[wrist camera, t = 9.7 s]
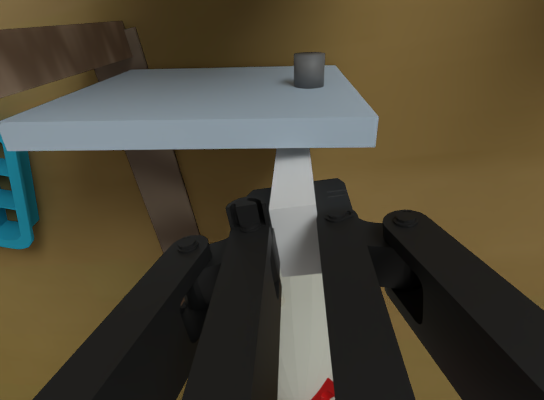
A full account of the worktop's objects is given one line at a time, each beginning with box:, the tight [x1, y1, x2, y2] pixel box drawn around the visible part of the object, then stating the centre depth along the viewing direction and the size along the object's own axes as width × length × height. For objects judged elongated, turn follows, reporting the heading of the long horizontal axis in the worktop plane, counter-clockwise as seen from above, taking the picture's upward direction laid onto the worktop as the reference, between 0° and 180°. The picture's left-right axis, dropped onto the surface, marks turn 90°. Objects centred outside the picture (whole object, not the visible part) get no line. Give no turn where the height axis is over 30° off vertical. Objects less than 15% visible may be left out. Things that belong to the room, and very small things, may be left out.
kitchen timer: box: [277, 270, 335, 400], centre depth 31 cm, size 14×14×15 cm
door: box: [0, 52, 379, 151], centre depth 20 cm, size 15×3×14 cm, turn 91°
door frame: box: [0, 21, 200, 305], centre depth 24 cm, size 22×4×16 cm, turn 10°
